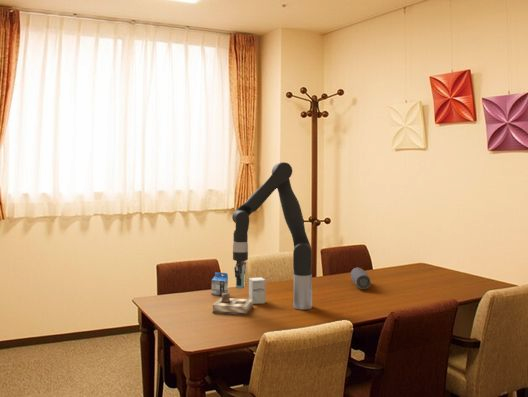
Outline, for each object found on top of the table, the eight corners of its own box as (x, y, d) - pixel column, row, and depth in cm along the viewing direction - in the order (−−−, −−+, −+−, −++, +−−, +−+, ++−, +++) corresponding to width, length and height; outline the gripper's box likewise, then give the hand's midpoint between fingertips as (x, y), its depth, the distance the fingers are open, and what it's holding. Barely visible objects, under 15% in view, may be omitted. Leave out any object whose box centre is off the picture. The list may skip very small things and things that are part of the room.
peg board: (252, 307, 262) (252, 291, 262) (246, 315, 248) (246, 298, 248) (220, 305, 266) (220, 290, 265) (212, 312, 252) (212, 296, 251)
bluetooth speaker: (371, 291, 295) (371, 274, 295) (355, 291, 296) (355, 274, 295) (364, 282, 318) (364, 266, 318) (349, 282, 318) (349, 266, 318)
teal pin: (244, 287, 257) (245, 269, 257) (242, 288, 253) (243, 271, 253) (237, 286, 258) (237, 268, 257) (235, 288, 254) (235, 270, 254)
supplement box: (251, 304, 267) (251, 280, 267) (248, 300, 274) (248, 277, 274) (265, 303, 269) (265, 279, 268) (261, 299, 276) (261, 276, 276)
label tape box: (211, 294, 288) (211, 273, 287) (215, 293, 291) (214, 271, 291) (224, 296, 284) (224, 274, 283) (228, 294, 287) (228, 273, 287)
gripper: (244, 253, 247) (243, 288, 248) (251, 248, 261) (250, 281, 262) (229, 252, 248) (229, 287, 249) (236, 247, 262) (236, 280, 263)
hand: (240, 284), depth 256 cm, fingers closed on teal pin, 4 cm apart
